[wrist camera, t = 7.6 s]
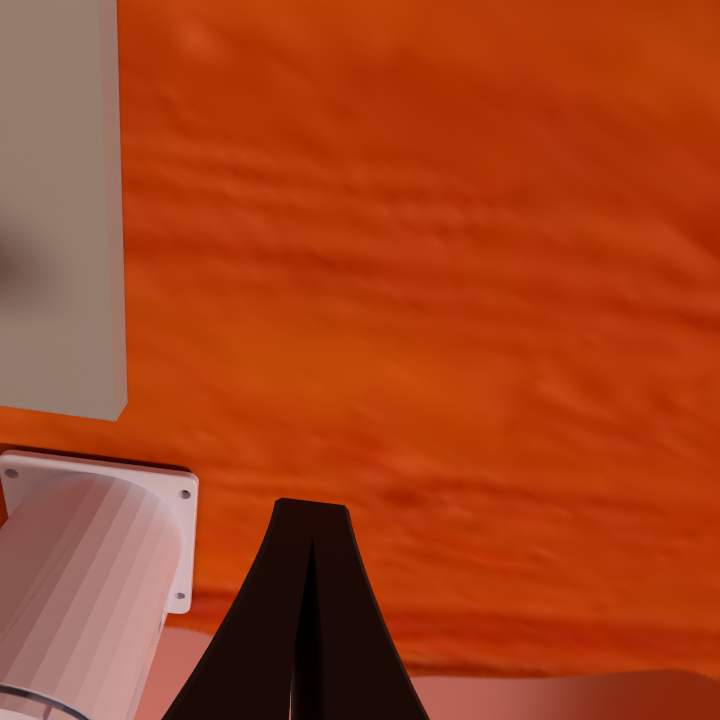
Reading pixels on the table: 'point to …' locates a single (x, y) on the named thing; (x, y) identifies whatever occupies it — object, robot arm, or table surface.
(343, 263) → the table surface
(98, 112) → the stand board
